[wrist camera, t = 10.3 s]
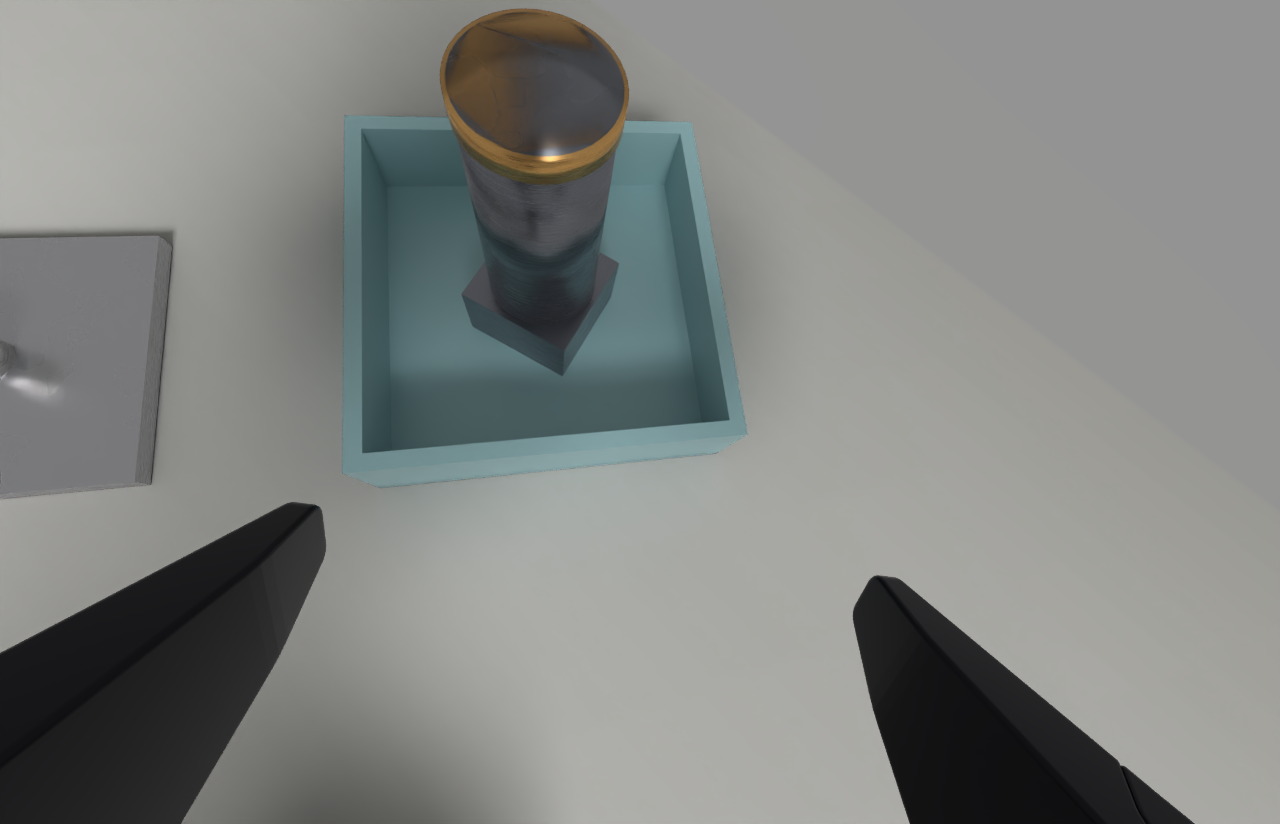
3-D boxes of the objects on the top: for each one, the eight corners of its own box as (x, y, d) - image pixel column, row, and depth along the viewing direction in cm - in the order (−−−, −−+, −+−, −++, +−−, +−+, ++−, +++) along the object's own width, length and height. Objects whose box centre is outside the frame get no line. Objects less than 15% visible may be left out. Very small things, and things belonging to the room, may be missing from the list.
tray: (715, 453, 24) (747, 434, 20) (379, 488, 21) (342, 473, 17) (671, 182, 27) (691, 122, 23) (376, 183, 24) (344, 115, 21)
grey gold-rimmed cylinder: (562, 376, 23) (574, 199, 11) (472, 326, 23) (393, 97, 11) (610, 297, 24) (665, 67, 13) (525, 250, 24) (503, -25, 13)
